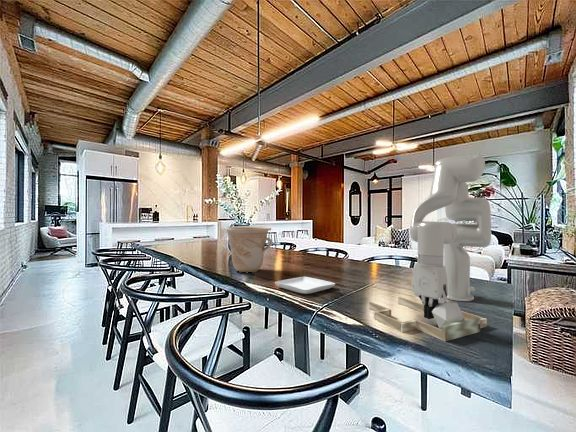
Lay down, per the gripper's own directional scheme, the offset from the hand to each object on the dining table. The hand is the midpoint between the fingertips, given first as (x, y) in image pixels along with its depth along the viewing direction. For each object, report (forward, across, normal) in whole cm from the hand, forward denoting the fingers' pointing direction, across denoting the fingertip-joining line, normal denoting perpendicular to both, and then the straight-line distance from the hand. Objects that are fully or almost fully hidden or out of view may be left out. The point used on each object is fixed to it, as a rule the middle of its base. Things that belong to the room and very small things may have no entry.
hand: (429, 317), depth 91 cm
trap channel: (+2, -5, +1) cm, 5 cm away
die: (+1, +3, +1) cm, 4 cm away
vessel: (+2, -108, -25) cm, 110 cm away
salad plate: (+3, -56, -14) cm, 58 cm away
